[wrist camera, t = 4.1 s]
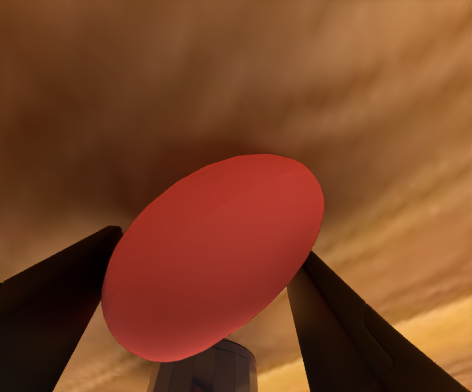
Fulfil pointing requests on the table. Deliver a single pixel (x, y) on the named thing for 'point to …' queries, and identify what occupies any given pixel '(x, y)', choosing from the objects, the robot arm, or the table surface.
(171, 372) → the cup
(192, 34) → the table surface
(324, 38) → the table surface
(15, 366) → the robot arm
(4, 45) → the table surface
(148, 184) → the table surface
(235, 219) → the stress ball
